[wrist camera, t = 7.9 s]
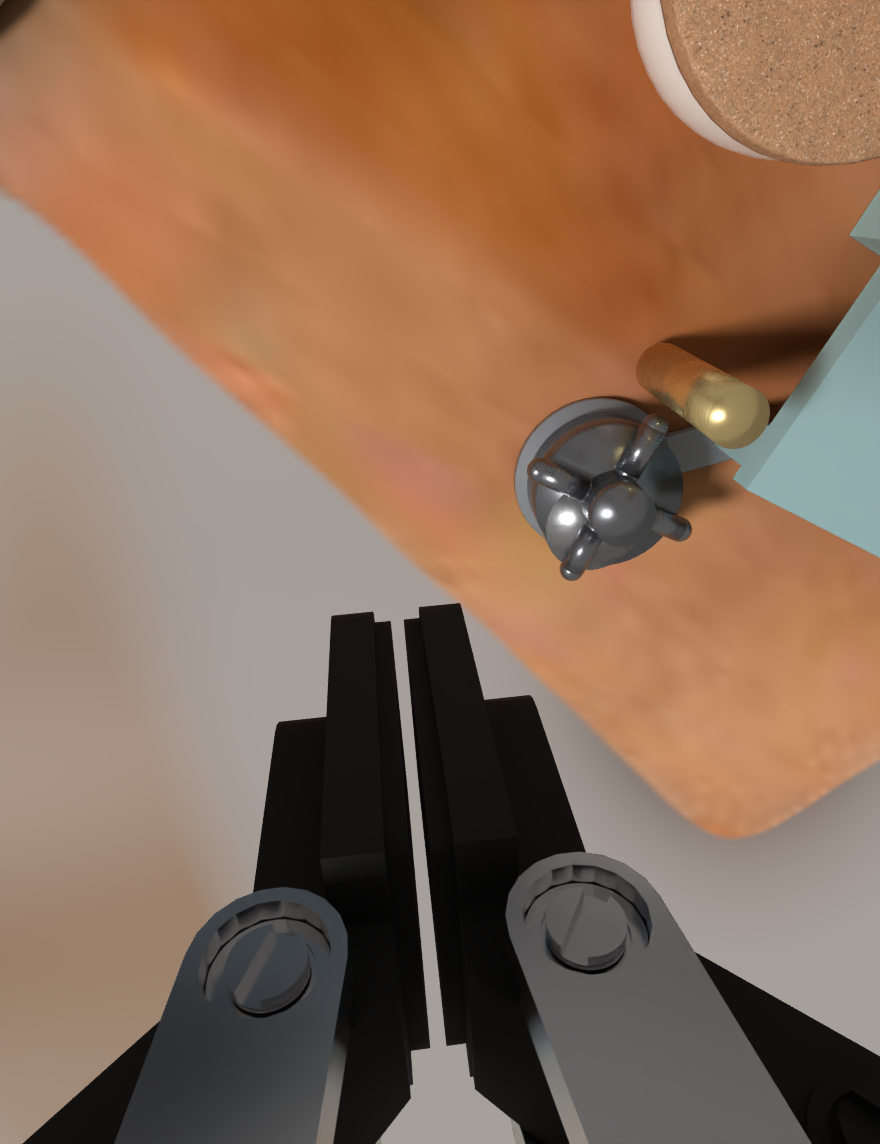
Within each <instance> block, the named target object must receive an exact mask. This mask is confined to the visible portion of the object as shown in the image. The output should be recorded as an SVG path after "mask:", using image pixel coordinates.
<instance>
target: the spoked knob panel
mask: <svg viewBox="0 0 880 1144" xmlns="http://www.w3.org/2000/svg"><path fill="white" fill-rule="evenodd" d="M849 236H851V237H852V238H854V239H855V240H857V241H858V242H860V243H861V244H863V245H864V246H866V247H867V248H869V249H870V250H872V251H873V252H875V253H876V254H878V255H879V256H880V190H879V191H878V193H877V194H876V196H875V197H874V199H873V200H872V202H871V203H870V205H869V206H868V208H867V209H866V211H865V212H864V214H863V215H862V217H861V218H860V220H859V221H858V223H857V224H856V226H855V227H854V229H853V230H852V232H851V233H850V235H849ZM597 412H612V413H619V414H623V415H626V416H629V417H632V418H634V419H636V420H637V421H639V422H641V423H642V422H643V420H644V419H645V418H646V417H647V416H648V415H647V414H646V413H645V412H644V411H643V410H641V409H640V408H638V407H636V406H635V405H633V404H630V403H628V402H626V401H622V400H619V399H614V398H606V397H595V398H588V399H582V400H579V401H575V402H572V403H570V404H567V405H565V406H563V407H561V408H559V409H558V410H556V411H554V412H553V413H551V414H550V415H549V416H547V417H546V418H545V419H544V420H543V421H541V422H540V423H539V424H538V425H537V426H536V428H535V429H534V430H533V431H532V432H531V434H530V435H529V437H528V438H527V440H526V441H525V443H524V445H523V447H522V449H521V451H520V454H519V457H518V460H517V463H516V468H515V477H514V485H515V493H516V498H517V501H518V504H519V507H520V509H521V511H522V513H523V515H524V517H525V519H526V520H527V522H528V523H529V524H530V525H531V527H532V528H533V529H534V530H535V531H536V532H537V533H538V534H540V535H541V536H542V537H544V536H543V534H542V532H541V530H540V528H539V525H538V522H537V520H536V518H535V516H534V515H533V512H532V510H531V508H530V504H529V501H528V495H527V479H528V475H527V466H528V464H529V463H530V462H531V461H532V460H533V459H534V456H535V454H536V453H537V451H538V449H539V448H540V446H541V445H542V444H543V443H544V441H545V440H546V439H547V438H548V437H549V436H550V435H551V434H552V433H553V432H554V431H555V430H557V429H558V428H559V427H560V426H562V425H564V424H565V423H567V422H569V421H571V420H573V419H575V418H577V417H580V416H583V415H587V414H591V413H597ZM662 441H663V442H664V443H665V444H666V445H667V446H668V447H669V448H670V449H671V451H672V452H673V454H674V455H675V457H676V459H677V461H678V463H679V465H680V469H681V472H682V473H684V472H687V471H691V470H694V469H698V468H701V467H705V466H708V465H712V464H716V463H719V462H723V461H726V460H730V459H733V460H735V461H736V462H737V463H738V464H740V465H741V467H740V469H739V470H738V472H737V473H736V475H735V476H734V477H733V479H734V480H735V481H736V482H738V483H739V484H740V485H741V486H743V487H744V488H745V489H746V490H748V491H750V492H752V493H754V494H756V495H758V496H760V497H762V498H764V499H766V500H768V501H770V502H772V503H774V504H776V505H778V506H779V507H781V508H783V509H785V510H787V511H789V512H791V513H793V514H795V515H797V516H799V517H801V518H803V519H805V520H807V521H809V522H811V523H813V524H815V525H817V526H819V527H821V528H823V529H825V530H827V531H829V532H831V533H833V534H834V535H836V536H838V537H840V538H842V539H844V540H846V541H848V542H850V543H852V544H854V545H856V546H858V547H860V548H862V549H864V550H866V551H868V552H870V553H872V554H874V555H876V556H878V557H880V266H879V268H878V269H877V271H876V272H875V273H874V275H873V276H872V278H871V279H870V281H869V282H868V284H867V285H866V286H865V288H864V289H863V291H862V292H861V294H860V295H859V297H858V298H857V299H856V301H855V302H854V304H853V305H852V307H851V308H850V310H849V311H848V312H847V314H846V315H845V317H844V318H843V320H842V321H841V323H840V324H839V325H838V327H837V328H836V330H835V331H834V333H833V334H832V336H831V337H830V339H829V340H828V341H827V343H826V344H825V346H824V347H823V349H822V350H821V352H820V353H819V354H818V356H817V357H816V359H815V360H814V362H813V363H812V365H811V366H810V367H809V369H808V370H807V372H806V373H805V375H804V376H803V378H802V379H801V380H800V382H799V383H798V385H797V386H796V388H795V389H794V391H793V392H792V393H791V395H790V396H789V398H788V399H787V401H786V402H785V404H784V405H783V407H782V408H781V409H780V411H779V412H778V414H777V415H776V417H775V418H774V420H773V421H772V422H771V424H769V423H768V424H767V426H766V428H765V430H764V432H763V433H762V434H761V436H760V437H759V438H758V439H757V440H755V441H754V442H753V443H751V444H749V445H748V446H745V447H743V448H739V449H727V448H723V447H721V446H719V445H718V444H716V443H715V442H714V441H712V440H711V439H710V438H708V437H707V436H706V435H705V434H703V433H702V432H701V431H699V430H698V429H697V428H695V427H694V426H692V427H688V428H684V429H681V430H677V431H674V432H670V433H667V434H665V436H664V438H663V439H662Z"/></svg>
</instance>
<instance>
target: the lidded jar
mask: <svg viewBox="0 0 880 1144" xmlns="http://www.w3.org/2000/svg"><path fill="white" fill-rule="evenodd" d="M630 2H631V16H632V23H633V28H634V33H635V38H636V42H637V47H638V50H639V53H640V56H641V58H642V61H643V64H644V67H645V69H646V72H647V74H648V76H649V78H650V80H651V82H652V83H653V85H654V87H655V89H656V91H657V92H658V94H659V96H660V97H661V98H662V100H663V101H664V102H665V103H666V105H667V106H668V107H669V108H670V110H671V111H672V112H673V113H674V115H676V116H677V117H678V118H679V119H680V120H681V121H682V122H684V123H685V124H686V125H687V126H688V127H689V128H691V129H692V130H693V131H694V132H696V133H697V134H698V135H700V136H702V137H704V138H705V139H707V140H709V141H711V142H712V143H714V144H716V145H717V146H719V147H722V148H725V149H728V150H731V151H734V152H737V153H740V154H743V155H746V156H749V157H753V158H760V159H768V160H775V161H782V162H788V163H795V164H803V165H810V166H822V165H840V164H853V163H857V162H861V161H866V160H870V159H874V158H878V157H880V0H630Z"/></svg>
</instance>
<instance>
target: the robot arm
mask: <svg viewBox="0 0 880 1144" xmlns="http://www.w3.org/2000/svg"><path fill="white" fill-rule="evenodd" d="M4 1H5V0H0V6H1V5H2V3H3V2H4ZM404 627H405V639H406V650H407V661H408V672H409V683H410V694H411V705H412V716H413V727H414V738H415V749H416V760H417V771H418V780H419V781H418V782H419V791H420V802H421V810H422V820H423V830H424V839H425V848H426V858H427V868H428V877H429V885H430V895H431V905H432V913H433V924H434V933H435V943H436V951H437V961H438V970H439V980H440V989H441V998H442V1008H443V1017H444V1027H445V1036H446V1045H447V1046H449V1045H457V1044H464V1043H466V1048H467V1056H468V1063H469V1071H470V1077H472V1076H473V1077H474V1083H475V1089H476V1090H477V1091H478V1092H479V1093H480V1094H482V1095H483V1096H484V1097H485V1098H487V1099H488V1100H489V1101H490V1102H491V1103H493V1104H494V1105H495V1106H496V1107H498V1108H499V1109H500V1110H501V1111H503V1112H504V1113H505V1114H506V1115H508V1116H509V1117H510V1118H511V1123H512V1129H513V1135H514V1139H515V1142H516V1144H880V1056H878V1055H876V1054H874V1053H873V1052H871V1051H869V1050H867V1049H866V1048H864V1047H862V1046H860V1045H859V1044H857V1043H855V1042H853V1041H852V1040H850V1039H848V1038H846V1037H845V1036H843V1035H841V1034H839V1033H837V1032H836V1031H834V1030H832V1029H830V1028H829V1027H827V1026H825V1025H823V1024H821V1023H820V1022H818V1021H816V1020H814V1019H813V1018H811V1017H809V1016H807V1015H806V1014H804V1013H802V1012H800V1011H798V1010H797V1009H795V1008H793V1007H791V1006H790V1005H788V1004H786V1003H784V1002H782V1001H781V1000H779V999H777V998H775V997H774V996H772V995H770V994H768V993H767V992H765V991H763V990H761V989H759V988H758V987H756V986H754V985H752V984H751V983H749V982H747V981H745V980H743V979H742V978H740V977H738V976H736V975H734V974H733V973H731V972H729V971H728V970H726V969H724V968H722V967H721V966H719V965H717V964H715V963H713V962H712V961H710V960H708V959H706V958H704V957H703V956H701V955H699V954H697V953H696V952H694V950H693V949H692V947H691V945H690V944H689V942H688V941H687V939H686V937H685V936H684V934H683V932H682V931H681V929H680V928H679V926H678V924H677V923H676V921H675V920H674V918H673V916H672V914H671V913H670V912H669V909H668V908H667V906H666V905H665V903H664V901H663V900H662V898H661V896H660V895H659V894H658V893H657V891H656V890H655V889H654V888H653V887H652V885H650V883H649V882H648V881H647V879H646V878H645V877H643V876H642V875H641V874H639V873H638V872H636V871H635V870H633V869H632V868H630V867H629V866H628V865H626V864H624V863H622V862H620V861H617V860H614V859H612V858H609V857H607V856H604V855H599V854H592V853H586V851H585V849H584V845H583V843H582V840H581V837H580V834H579V831H578V828H577V825H576V822H575V819H574V816H573V813H572V810H571V807H570V804H569V801H568V798H567V796H566V792H565V790H564V787H563V784H562V781H561V778H560V775H559V772H558V769H557V766H556V763H555V760H554V757H553V754H552V751H551V748H550V745H549V742H548V740H547V737H546V734H545V731H544V728H543V725H542V722H541V719H540V716H539V713H538V710H537V707H536V705H535V702H534V700H533V698H532V697H531V696H530V695H526V696H517V697H507V698H498V699H489V700H484V697H483V693H482V689H481V685H480V681H479V677H478V673H477V669H476V665H475V661H474V657H473V652H472V648H471V645H470V641H469V636H468V633H467V628H466V624H465V620H464V616H463V612H462V608H461V605H460V603H456V604H447V605H437V606H426V607H419V618H415V619H405V620H404ZM330 634H331V635H330V653H329V654H330V655H329V674H328V696H327V716H326V717H321V718H311V719H301V720H292V721H283V722H279V723H278V724H277V726H276V731H275V736H274V744H273V752H272V758H271V766H270V773H269V780H268V788H267V795H266V802H265V809H264V817H263V824H262V832H261V839H260V846H259V853H258V860H257V869H256V875H255V883H254V890H253V893H251V894H249V895H246V896H243V897H241V898H238V899H236V900H235V901H233V902H231V903H230V904H228V905H227V906H225V907H224V908H222V909H221V910H219V911H218V912H216V913H215V914H214V915H213V916H212V917H211V918H210V919H209V920H208V922H207V923H206V924H205V925H204V926H203V927H202V928H201V929H200V930H199V931H198V932H197V934H196V935H195V937H194V939H193V941H192V943H191V945H190V946H189V948H188V950H187V952H186V954H185V956H184V958H183V961H182V964H181V967H180V969H179V972H178V975H177V977H176V980H175V983H174V985H173V988H172V990H171V993H170V996H169V998H168V1001H167V1004H166V1006H165V1009H164V1012H163V1014H162V1017H161V1020H160V1021H159V1022H158V1023H157V1024H156V1025H155V1026H153V1027H152V1028H151V1029H150V1030H149V1031H148V1032H147V1033H146V1034H145V1035H143V1037H141V1038H140V1039H139V1040H138V1041H137V1042H136V1043H135V1044H134V1045H132V1046H131V1047H130V1048H129V1049H128V1050H127V1051H126V1052H124V1053H123V1054H122V1055H121V1056H120V1057H119V1058H118V1059H117V1060H115V1062H113V1063H112V1064H111V1065H110V1066H109V1067H108V1068H107V1069H106V1070H104V1071H103V1072H102V1073H101V1074H100V1075H99V1076H98V1077H96V1078H95V1079H94V1080H93V1081H92V1082H91V1083H90V1084H89V1085H88V1086H86V1087H85V1088H84V1089H83V1090H82V1091H81V1092H80V1093H79V1094H77V1095H76V1096H75V1097H74V1098H73V1099H72V1100H71V1101H70V1102H69V1103H68V1104H66V1105H65V1106H64V1107H63V1108H62V1109H61V1110H60V1111H59V1112H57V1113H56V1114H55V1115H54V1116H53V1117H52V1118H51V1119H50V1120H48V1121H47V1122H46V1123H45V1124H44V1125H43V1126H42V1127H41V1128H39V1129H38V1130H37V1131H36V1132H35V1133H34V1134H33V1135H32V1136H31V1137H29V1139H27V1140H26V1141H25V1142H24V1143H23V1144H381V1136H382V1135H383V1133H384V1132H385V1131H386V1129H387V1128H388V1127H389V1126H390V1124H391V1123H392V1122H393V1120H394V1119H395V1118H396V1116H397V1115H398V1114H399V1113H400V1111H401V1110H402V1109H403V1108H404V1106H405V1105H406V1104H407V1102H408V1101H409V1100H410V1098H411V1096H410V1085H413V1077H412V1062H411V1051H412V1050H419V1049H426V1048H430V1040H429V1028H428V1017H427V1005H426V995H425V983H424V971H423V960H422V950H421V938H420V926H419V915H418V903H417V892H416V880H415V869H414V859H413V846H412V835H411V823H410V812H409V801H408V790H407V780H406V770H405V760H404V750H403V741H402V730H401V720H400V710H399V700H398V690H397V680H396V671H395V660H394V650H393V640H392V631H391V622H390V621H386V622H375V620H374V614H373V612H365V613H355V614H345V615H335V616H332V617H331V633H330Z"/></svg>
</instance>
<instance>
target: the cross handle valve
mask: <svg viewBox="0 0 880 1144" xmlns="http://www.w3.org/2000/svg"><path fill="white" fill-rule="evenodd" d="M636 375H637V379H638V382H639V384H640V385H641V386H642V387H643V388H644V389H645V390H646V391H648V392H649V393H650V394H652V395H653V396H654V397H656V398H657V399H658V400H660V401H661V402H662V403H664V404H665V405H666V406H668V407H669V408H670V409H671V410H673V411H674V412H675V413H677V414H678V415H679V416H681V417H682V418H683V419H685V420H686V421H687V422H689V423H690V424H691V425H693V426H694V427H695V428H697V429H698V430H699V431H701V432H702V433H703V434H705V435H706V436H707V437H708V438H710V439H711V440H712V441H714V442H715V443H716V444H718V445H719V446H721V447H723V448H727V449H739V448H743V447H745V446H748V445H749V444H751V443H753V442H754V441H755V440H757V439H758V438H759V437H760V436H761V434H762V433H763V432H764V430H765V428H766V426H767V424H768V421H769V417H770V407H769V403H768V401H767V399H766V397H765V396H764V395H763V394H762V393H761V392H760V391H758V390H756V389H754V388H753V387H751V386H749V385H747V384H745V383H743V382H742V381H740V380H738V379H736V378H734V377H732V376H731V375H729V374H727V373H725V372H723V371H721V370H719V369H718V368H716V367H714V366H712V365H710V364H708V363H707V362H705V361H703V360H701V359H699V358H697V357H696V356H694V355H692V354H690V353H688V352H686V351H685V350H683V349H681V348H679V347H677V346H675V345H673V344H671V343H658V344H655V345H653V346H651V347H650V348H648V349H647V350H646V351H645V352H644V353H643V354H642V356H641V357H640V359H639V361H638V364H637V369H636ZM667 430H668V422H667V420H666V418H665V417H664V416H662V415H660V414H650V415H648V416H647V417H646V418H645V419H644V420H643V422H642V423H641V422H639V421H637V420H636V419H634V418H632V417H629V416H626V415H623V414H619V413H612V412H597V413H591V414H587V415H583V416H580V417H577V418H575V419H573V420H571V421H569V422H567V423H565V424H564V425H562V426H560V427H559V428H558V429H557V430H555V431H554V432H553V433H552V434H551V435H550V436H549V437H548V438H547V439H546V440H545V441H544V443H543V444H542V445H541V446H540V448H539V449H538V451H537V453H536V454H535V456H534V459H533V460H532V461H531V462H530V463H529V464H528V466H527V475H528V479H527V495H528V501H529V504H530V508H531V510H532V512H533V515H534V516H535V518H536V520H537V522H538V525H539V528H540V530H541V532H542V534H543V536H544V538H545V540H546V542H547V544H548V546H549V547H550V549H551V551H552V553H553V554H554V555H555V556H556V558H558V559H559V560H560V561H561V562H562V563H561V565H560V573H561V575H562V577H563V578H564V579H566V580H569V581H575V580H577V579H579V578H580V577H581V576H582V575H583V573H584V571H585V570H594V569H599V568H603V567H606V566H609V565H612V564H617V563H621V562H624V561H628V560H630V559H632V558H635V557H637V556H638V555H640V554H642V553H644V552H645V551H647V550H648V549H650V548H651V547H652V546H653V545H655V544H656V543H657V542H658V541H659V540H660V539H661V538H662V537H663V536H664V537H667V538H669V539H671V540H674V541H677V542H681V541H684V540H686V539H688V538H689V537H690V535H691V533H692V526H691V524H690V522H689V521H688V520H687V519H685V518H683V517H680V516H678V515H677V513H678V511H679V508H680V504H681V501H682V494H683V478H682V472H681V469H680V465H679V463H678V461H677V459H676V457H675V455H674V454H673V452H672V451H671V449H670V448H669V447H668V446H667V445H666V444H665V443H664V442H663V441H662V439H663V438H664V436H665V434H666V432H667Z"/></svg>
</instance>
